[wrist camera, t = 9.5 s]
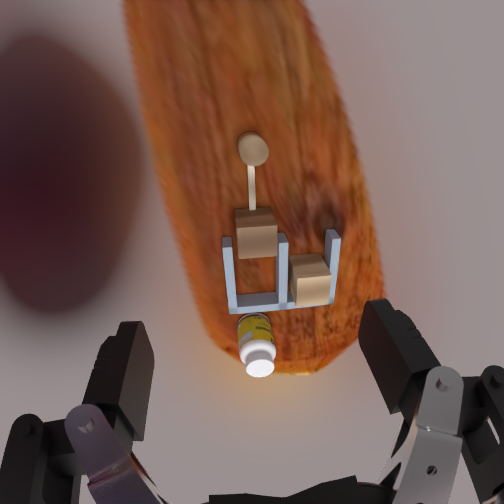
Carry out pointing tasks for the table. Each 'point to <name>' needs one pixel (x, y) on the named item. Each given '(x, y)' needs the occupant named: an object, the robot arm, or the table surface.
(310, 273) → the oak block
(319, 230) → the table surface
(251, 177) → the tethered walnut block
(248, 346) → the supplement bottle
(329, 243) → the lane shelf
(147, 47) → the table surface
